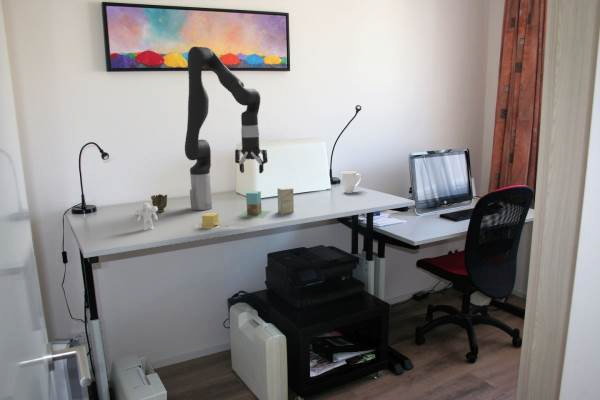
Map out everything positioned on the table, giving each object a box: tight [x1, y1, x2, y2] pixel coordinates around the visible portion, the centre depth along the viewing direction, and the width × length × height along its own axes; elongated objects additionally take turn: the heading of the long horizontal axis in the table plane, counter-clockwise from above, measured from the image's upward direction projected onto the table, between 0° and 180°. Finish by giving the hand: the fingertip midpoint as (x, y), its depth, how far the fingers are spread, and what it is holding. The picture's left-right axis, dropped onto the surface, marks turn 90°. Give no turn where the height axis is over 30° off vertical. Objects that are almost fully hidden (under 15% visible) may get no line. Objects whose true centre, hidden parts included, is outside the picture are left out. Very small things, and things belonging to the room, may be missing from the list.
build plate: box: [237, 209, 272, 219], centre depth 212 cm, size 12×12×1 cm
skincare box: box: [277, 186, 295, 215], centre depth 214 cm, size 6×4×12 cm
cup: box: [150, 193, 168, 213], centre depth 225 cm, size 8×7×8 cm
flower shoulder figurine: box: [134, 199, 159, 231], centre depth 195 cm, size 9×4×12 cm, turn 112°
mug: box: [340, 170, 362, 194], centre depth 259 cm, size 12×8×11 cm
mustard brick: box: [201, 212, 219, 229], centre depth 198 cm, size 5×5×5 cm
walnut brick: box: [246, 201, 263, 215], centre depth 212 cm, size 5×5×5 cm
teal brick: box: [245, 190, 262, 205], centre depth 211 cm, size 5×5×5 cm
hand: (251, 172), depth 208 cm, fingers open, 8 cm apart
